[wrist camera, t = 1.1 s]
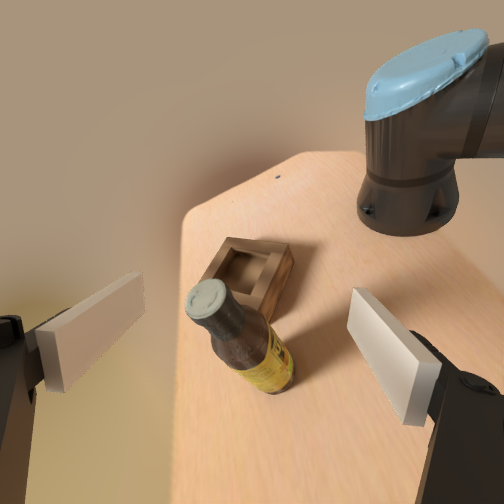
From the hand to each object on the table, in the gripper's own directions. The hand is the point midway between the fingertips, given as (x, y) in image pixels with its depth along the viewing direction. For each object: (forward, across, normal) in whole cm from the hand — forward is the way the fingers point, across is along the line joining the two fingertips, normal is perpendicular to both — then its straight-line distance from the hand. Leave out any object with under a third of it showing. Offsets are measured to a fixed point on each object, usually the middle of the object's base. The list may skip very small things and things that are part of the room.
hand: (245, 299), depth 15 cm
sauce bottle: (+15, +4, -18) cm, 24 cm away
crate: (+28, -1, -10) cm, 30 cm away
